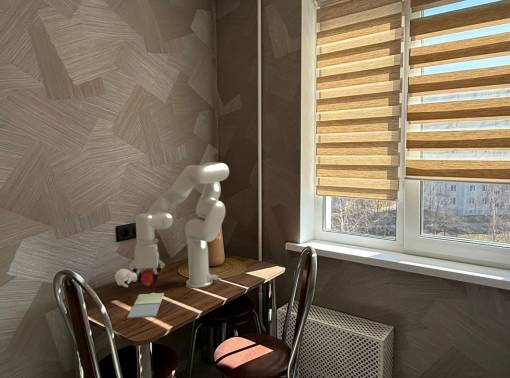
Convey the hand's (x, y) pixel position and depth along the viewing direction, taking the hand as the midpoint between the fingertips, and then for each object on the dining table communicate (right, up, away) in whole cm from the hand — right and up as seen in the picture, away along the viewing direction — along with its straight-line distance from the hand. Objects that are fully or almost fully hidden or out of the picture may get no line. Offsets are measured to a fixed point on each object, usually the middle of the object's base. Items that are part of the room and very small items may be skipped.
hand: (147, 282), depth 172 cm
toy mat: (+2, -9, -11) cm, 15 cm away
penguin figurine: (-16, -6, +22) cm, 27 cm away
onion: (0, -2, 0) cm, 2 cm away
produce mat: (0, -8, +1) cm, 8 cm away
